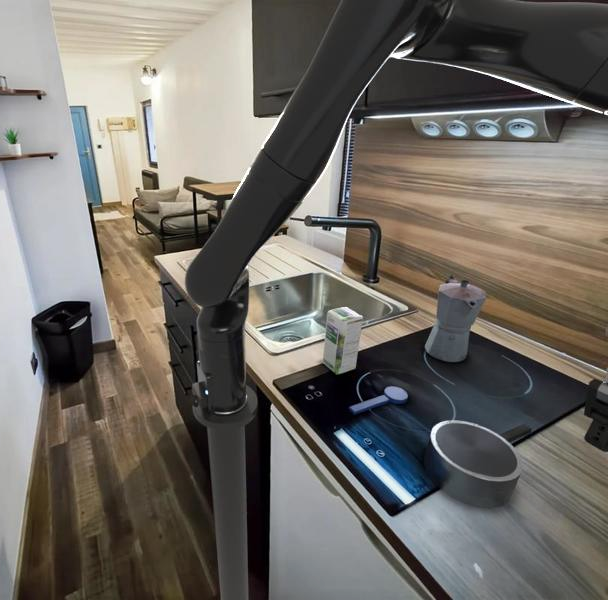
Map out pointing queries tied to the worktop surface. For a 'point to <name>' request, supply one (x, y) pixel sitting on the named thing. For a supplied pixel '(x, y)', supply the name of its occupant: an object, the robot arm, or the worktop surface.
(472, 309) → the moka pot
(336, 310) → the syrup box
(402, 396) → the spoon
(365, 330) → the worktop surface
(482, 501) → the saucepan
